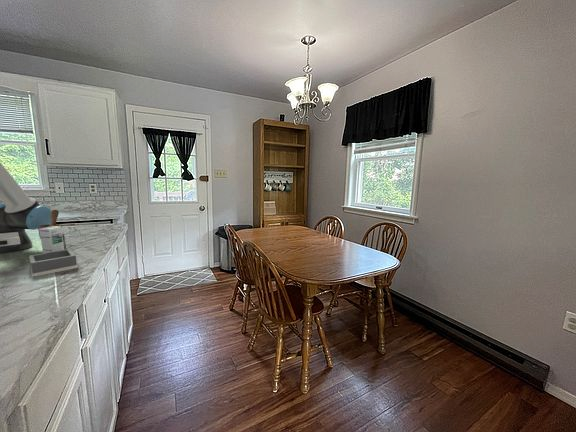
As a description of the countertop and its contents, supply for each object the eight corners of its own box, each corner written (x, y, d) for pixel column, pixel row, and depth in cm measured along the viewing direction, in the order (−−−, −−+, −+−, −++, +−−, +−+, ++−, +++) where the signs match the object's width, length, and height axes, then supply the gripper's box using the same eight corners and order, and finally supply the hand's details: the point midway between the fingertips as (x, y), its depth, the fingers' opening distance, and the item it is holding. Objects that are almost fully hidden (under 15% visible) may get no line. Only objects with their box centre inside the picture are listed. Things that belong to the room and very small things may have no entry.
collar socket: (30, 268, 103) (28, 255, 102) (71, 260, 112) (70, 249, 112) (32, 276, 94) (30, 263, 93) (77, 267, 104) (76, 255, 103)
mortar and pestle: (42, 249, 128) (36, 210, 124) (65, 246, 133) (60, 208, 130) (41, 255, 119) (34, 213, 116) (65, 252, 125) (60, 211, 121)
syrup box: (54, 261, 111) (49, 228, 108) (43, 260, 112) (38, 228, 110) (67, 257, 116) (63, 226, 114) (57, 256, 117) (53, 225, 115)
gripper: (-61, 250, 98) (19, 241, 114) (-74, 265, 81) (21, 252, 97) (-65, 231, 97) (17, 224, 112) (-79, 242, 80) (19, 233, 96)
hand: (19, 237), depth 105 cm, fingers open, 13 cm apart
